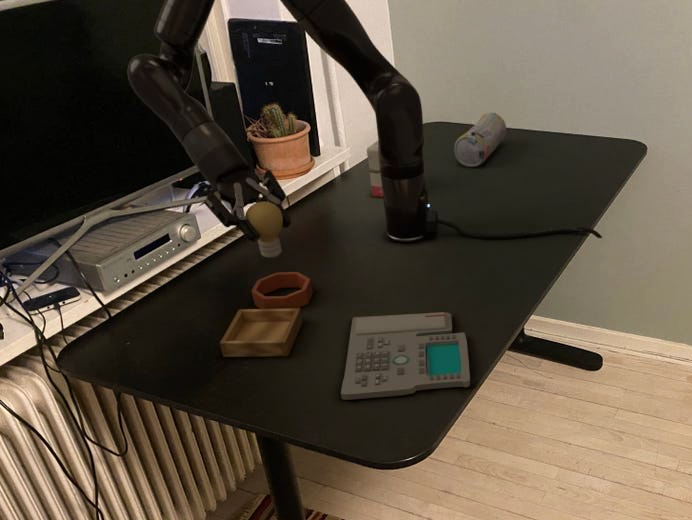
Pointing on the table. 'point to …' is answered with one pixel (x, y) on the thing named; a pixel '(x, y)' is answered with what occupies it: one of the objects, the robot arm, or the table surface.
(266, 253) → the light bulb
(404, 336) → the office telephone
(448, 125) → the table surface
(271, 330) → the tray
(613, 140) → the table surface
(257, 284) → the orange octagonal ring
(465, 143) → the pencil case
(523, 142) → the table surface
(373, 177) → the ink box
